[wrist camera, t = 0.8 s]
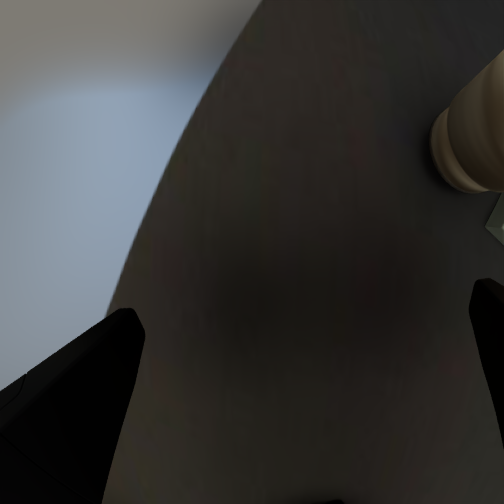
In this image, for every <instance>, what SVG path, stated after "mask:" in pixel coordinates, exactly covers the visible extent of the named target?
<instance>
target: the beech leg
mask: <svg viewBox="0 0 504 504" xmlns="http://www.w3.org/2000/svg"><path fill="white" fill-rule="evenodd" d="M429 151H430V155H431V158H432V161H433V164H434V166H435V168H436V170H437V171H438V173H439V174H440V176H441V177H442V178H443V179H444V180H445V181H446V182H447V183H448V184H449V185H450V186H451V187H453V188H455V189H456V190H458V191H460V192H463V193H468V194H477V193H483V192H485V191H493V192H504V50H503V51H502V52H501V53H500V54H499V55H498V56H497V57H496V58H495V59H494V60H493V61H491V62H490V63H489V64H488V65H487V66H486V67H485V68H484V69H483V70H482V71H481V72H480V73H479V74H478V75H477V76H476V77H475V78H474V79H473V80H472V81H471V82H469V83H468V84H467V85H466V86H465V87H464V88H463V89H462V90H461V91H460V92H459V93H458V94H457V95H456V96H455V97H454V99H453V100H452V102H451V104H450V106H449V107H448V108H447V109H445V110H444V111H442V112H441V113H440V114H439V115H438V116H437V117H436V118H435V120H434V121H433V123H432V125H431V128H430V132H429Z"/></svg>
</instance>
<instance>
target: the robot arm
mask: <svg viewBox="0 0 504 504" xmlns="http://www.w3.org/2000/svg"><path fill="white" fill-rule="evenodd" d="M469 315H470V319H471V323H472V326H473V330H474V334H475V338H476V342H477V347H478V351H479V355H480V359H481V364H482V367H483V370H484V374H485V377H486V380H487V383H488V387H489V390H490V394H491V397H492V401H493V404H494V408H495V412H496V416H497V420H498V424H499V429H500V433H501V438H502V443H503V448H504V286H503V285H501V284H499V283H498V282H496V281H494V280H492V279H491V278H485V279H479V280H477V281H476V282H475V284H474V287H473V291H472V296H471V300H470V304H469ZM144 341H145V330H144V328H143V326H142V324H141V322H140V320H139V318H138V316H137V314H136V312H135V310H134V309H132V308H120V309H118V310H116V311H115V312H113V313H112V314H110V315H109V316H107V317H106V318H104V319H103V320H102V321H100V322H99V323H97V324H96V325H94V326H93V327H91V328H90V329H88V330H87V331H86V332H84V333H83V334H81V335H80V336H78V337H77V338H75V339H74V340H72V341H71V342H70V343H68V344H67V345H65V346H64V347H62V348H61V349H59V350H58V351H57V352H56V353H54V354H52V355H51V356H49V357H48V358H47V359H45V360H44V361H42V362H41V363H40V364H38V365H37V366H35V367H34V368H33V369H31V370H30V371H28V372H27V374H24V375H23V376H21V377H20V378H19V379H17V380H16V381H14V382H13V383H11V384H10V385H8V386H7V387H6V388H4V389H3V390H1V391H0V504H101V503H102V499H103V495H104V491H105V487H106V483H107V479H108V475H109V471H110V468H111V464H112V460H113V457H114V453H115V449H116V446H117V442H118V439H119V435H120V432H121V428H122V425H123V422H124V418H125V415H126V412H127V408H128V405H129V402H130V399H131V396H132V392H133V389H134V386H135V382H136V378H137V373H138V368H139V364H140V359H141V354H142V350H143V346H144ZM327 504H343V502H342V501H334V502H330V503H327Z"/></svg>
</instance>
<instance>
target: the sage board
mask: <svg viewBox="0 0 504 504" xmlns="http://www.w3.org/2000/svg"><path fill="white" fill-rule="evenodd" d="M485 228H486V229H488V230H489V231H490V232H491V233H492V234H493V235H494V236H495V237H496V238H497V239H498V240H499V241H500V242H501V243H502V244H503V245H504V192H502V193H501V196H500V198H499V200H498V202H497V204H496V206H495V208H494V210H493V212H492V214H491V216H490V218H489V219H488V221H487V223H486V225H485Z"/></svg>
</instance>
